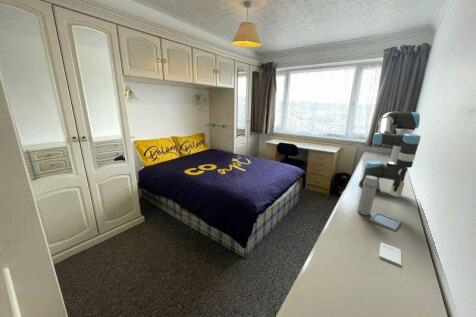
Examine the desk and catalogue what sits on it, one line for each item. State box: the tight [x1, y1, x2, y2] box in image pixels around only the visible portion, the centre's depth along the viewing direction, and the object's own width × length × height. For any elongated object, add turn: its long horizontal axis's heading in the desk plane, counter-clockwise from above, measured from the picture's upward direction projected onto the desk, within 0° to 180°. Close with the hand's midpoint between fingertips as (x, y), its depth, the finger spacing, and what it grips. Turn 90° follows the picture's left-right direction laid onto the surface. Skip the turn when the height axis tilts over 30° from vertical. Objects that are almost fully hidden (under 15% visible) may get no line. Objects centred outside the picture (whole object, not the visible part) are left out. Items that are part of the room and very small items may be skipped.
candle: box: [389, 180, 405, 197], centre depth 122 cm, size 6×6×10 cm
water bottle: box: [357, 176, 378, 216], centre depth 122 cm, size 9×8×25 cm
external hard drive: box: [378, 242, 403, 268], centre depth 91 cm, size 2×8×12 cm
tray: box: [368, 211, 402, 232], centre depth 117 cm, size 13×13×1 cm
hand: (395, 194), depth 124 cm, fingers closed on candle, 5 cm apart
